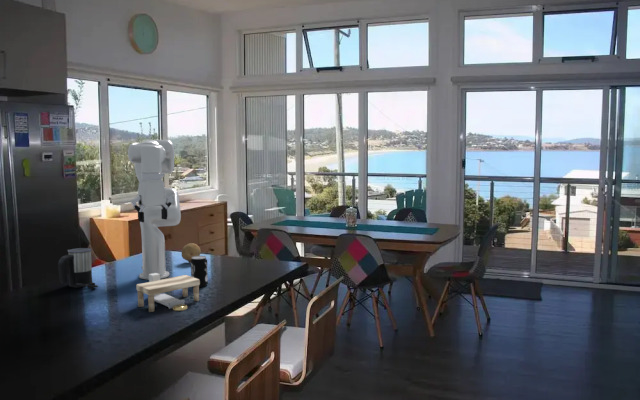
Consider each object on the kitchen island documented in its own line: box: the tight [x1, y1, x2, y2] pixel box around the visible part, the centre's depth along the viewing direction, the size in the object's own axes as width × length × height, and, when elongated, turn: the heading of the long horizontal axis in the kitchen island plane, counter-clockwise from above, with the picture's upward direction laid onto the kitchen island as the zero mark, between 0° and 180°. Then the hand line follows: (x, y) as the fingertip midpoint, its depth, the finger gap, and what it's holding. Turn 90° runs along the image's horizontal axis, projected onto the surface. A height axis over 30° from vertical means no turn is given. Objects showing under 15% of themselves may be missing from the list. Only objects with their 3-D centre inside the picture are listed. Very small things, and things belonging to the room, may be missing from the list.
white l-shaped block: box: [148, 273, 186, 310], centre depth 200 cm, size 18×6×9 cm, turn 44°
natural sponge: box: [181, 242, 202, 264], centre depth 261 cm, size 9×9×10 cm
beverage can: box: [190, 255, 209, 289], centre depth 221 cm, size 7×7×12 cm
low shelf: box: [135, 274, 200, 313], centre depth 197 cm, size 10×20×8 cm, turn 135°
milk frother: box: [57, 247, 99, 290], centre depth 219 cm, size 14×16×15 cm
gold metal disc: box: [172, 304, 188, 312], centre depth 192 cm, size 5×5×1 cm
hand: (153, 220), depth 212 cm, fingers open, 9 cm apart
